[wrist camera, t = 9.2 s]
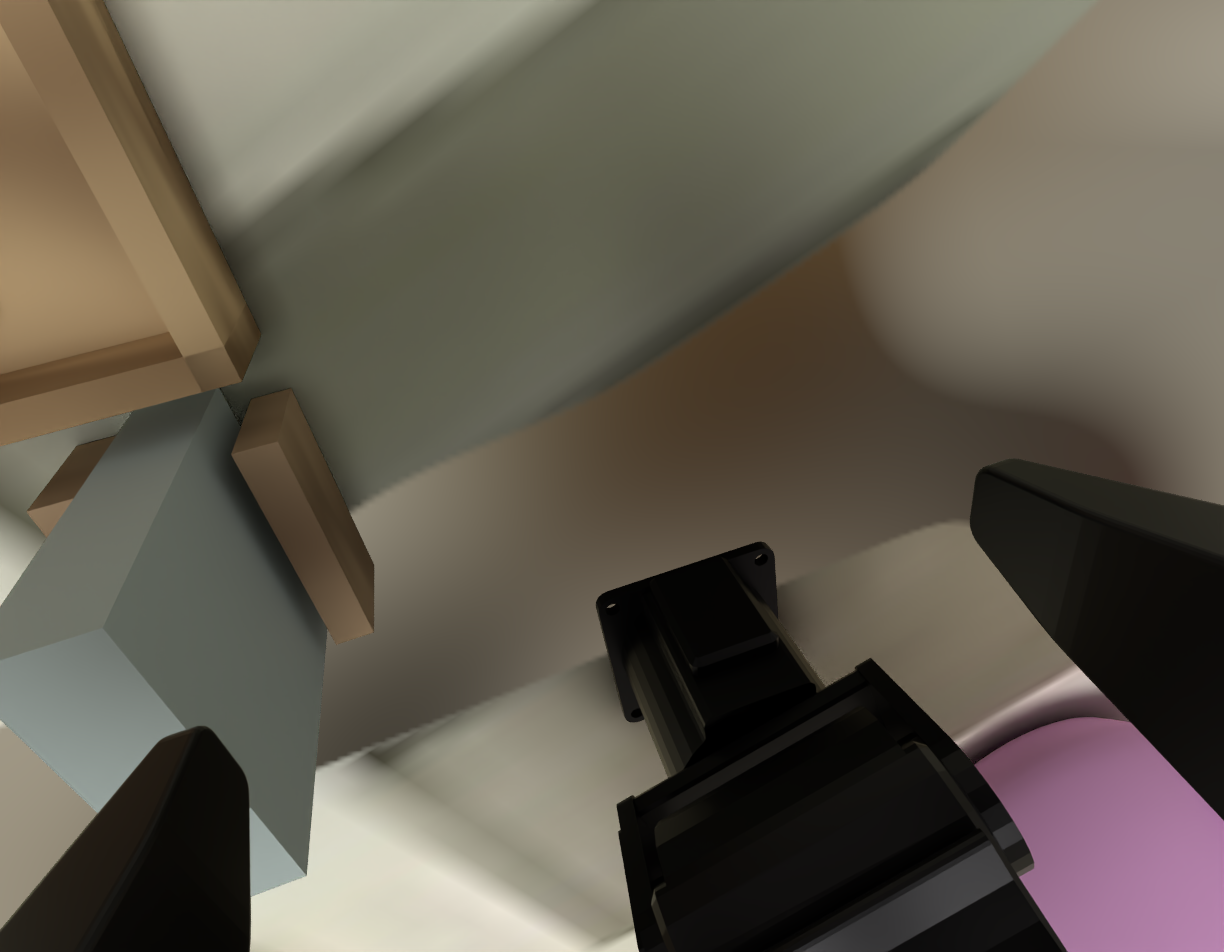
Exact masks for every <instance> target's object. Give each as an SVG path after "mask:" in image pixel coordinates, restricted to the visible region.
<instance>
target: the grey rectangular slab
mask: <svg viewBox="0 0 1224 952" xmlns="http://www.w3.org/2000/svg"><path fill="white" fill-rule="evenodd" d="M240 428H241V427H240V425H239V423H238V421H237V420H236V418H235V416H234V414H233V412H232V410H231V409H230V407H229V405H228V403H227V401H226V400H225V398H224V396H223V394H222V392H221V390H220V389H219V388H217V389H213V390H209V391H206V392H202V393H198V394H194V395H191V396H187V397H183V398H179V399H176V400H172V401H168V402H164V403H161V404H157V405H153V406H149V407H146V408H142V409H138V410H134V411H133V412H132V413H131V415H130V416H129V418H128V419H127V421H126V422H125V423H124V425H123V426H122V428H121V429H120V431H119V432H118V434H117V435H116V437H115V438H114V440H113V441H112V443H111V444H110V446H109V447H108V449H107V450H106V451H105V453H104V454H103V456H102V457H101V459H100V460H99V462H98V463H97V465H96V466H95V468H94V469H93V471H92V472H91V474H90V475H89V477H88V478H87V480H86V481H85V482H84V484H83V485H82V487H81V488H80V490H79V491H78V493H77V494H76V496H75V497H74V499H73V500H72V502H71V503H70V505H69V506H68V508H67V509H66V510H65V512H64V513H63V515H62V516H61V518H60V519H59V521H58V522H57V524H56V525H55V527H54V528H53V530H52V531H51V533H50V534H49V536H48V537H47V539H46V540H45V541H44V543H43V544H42V546H41V547H40V549H39V550H38V552H37V553H36V555H35V556H34V558H33V559H32V561H31V562H30V564H29V565H28V567H27V568H26V570H25V571H24V572H23V574H22V575H21V577H20V578H19V580H18V581H17V583H16V584H15V586H14V587H13V589H12V590H11V592H10V593H9V595H8V596H7V598H6V599H5V600H4V602H3V603H2V605H1V606H0V720H1V721H2V722H3V723H4V724H5V725H6V726H7V727H8V728H9V729H11V730H12V731H13V732H14V733H15V734H16V735H17V736H18V737H19V738H20V739H21V740H22V741H23V742H24V743H25V744H26V745H27V746H28V747H30V749H31V750H32V751H33V752H34V753H36V754H37V755H38V756H39V757H40V758H41V759H42V760H43V761H44V762H45V763H46V764H47V765H48V766H49V767H50V768H51V769H52V770H53V771H54V772H55V773H56V774H57V775H58V776H59V777H61V778H62V779H63V780H64V781H65V782H66V783H67V784H68V785H69V786H70V787H71V788H72V789H73V790H74V791H75V792H76V793H77V794H78V795H79V796H80V797H81V798H82V799H83V800H84V801H85V802H87V803H88V804H89V805H90V806H91V807H92V808H93V809H94V810H95V811H96V812H97V813H98V812H99V811H100V810H101V809H102V808H103V806H104V805H105V804H106V803H107V802H108V800H109V799H110V798H111V797H112V796H113V794H114V793H115V792H116V791H117V790H118V788H119V787H120V786H121V785H122V784H123V782H124V781H125V780H126V779H127V778H128V776H129V775H130V774H131V773H132V772H133V771H134V769H135V768H136V767H137V766H138V765H139V763H140V762H141V761H142V760H143V759H144V757H145V756H146V755H147V754H148V753H149V751H150V750H151V749H152V748H153V747H154V746H155V745H156V743H157V742H158V741H160V740H161V739H162V738H164V737H166V736H168V735H171V734H174V733H177V732H180V731H183V730H186V729H189V728H192V727H195V726H207V727H209V728H210V729H212V730H213V731H214V732H215V734H216V735H217V736H218V738H219V739H220V740H221V741H222V743H223V744H224V745H225V747H226V748H227V749H228V751H229V752H230V753H231V755H232V756H233V757H234V759H235V760H236V761H237V763H238V764H239V765H240V766H241V768H242V769H243V771H244V773H245V775H246V778H247V781H248V786H249V800H250V880H251V897H252V896H254V895H257V894H259V893H262V892H265V891H267V890H270V889H273V888H275V887H278V886H281V885H283V884H286V883H289V882H291V881H294V880H297V879H299V878H302V877H305V876H307V865H308V853H309V841H310V829H311V817H312V806H313V794H314V782H315V770H316V758H317V746H318V734H319V722H320V711H321V699H322V698H321V697H322V686H323V675H324V663H325V650H326V639H327V627H326V625H325V623H324V622H323V620H322V618H321V616H320V614H319V613H318V611H317V609H316V607H315V605H314V603H313V602H312V600H311V598H310V596H309V594H308V593H307V591H306V589H305V587H304V585H303V584H302V582H301V580H300V578H299V576H298V575H297V573H296V571H295V569H294V567H293V566H292V564H291V562H290V560H289V558H288V556H287V555H286V553H285V551H284V549H283V547H282V546H281V544H280V542H279V540H278V538H277V537H276V535H275V533H274V531H273V529H272V528H271V526H270V524H269V522H268V520H267V519H266V517H265V515H264V513H263V511H262V510H261V508H260V506H259V504H258V502H257V500H256V499H255V497H254V495H253V493H252V491H251V490H250V488H249V486H248V484H247V482H246V481H245V479H244V477H243V475H242V473H241V472H240V470H239V468H238V466H237V464H236V463H235V461H234V459H233V457H232V455H231V453H232V450H233V448H234V445H235V442H236V439H237V437H238V434H239V431H240Z"/></svg>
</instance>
